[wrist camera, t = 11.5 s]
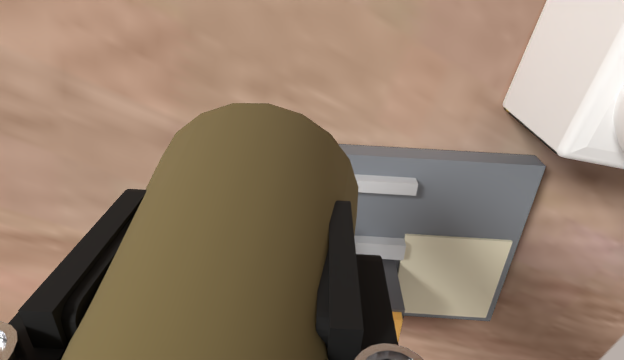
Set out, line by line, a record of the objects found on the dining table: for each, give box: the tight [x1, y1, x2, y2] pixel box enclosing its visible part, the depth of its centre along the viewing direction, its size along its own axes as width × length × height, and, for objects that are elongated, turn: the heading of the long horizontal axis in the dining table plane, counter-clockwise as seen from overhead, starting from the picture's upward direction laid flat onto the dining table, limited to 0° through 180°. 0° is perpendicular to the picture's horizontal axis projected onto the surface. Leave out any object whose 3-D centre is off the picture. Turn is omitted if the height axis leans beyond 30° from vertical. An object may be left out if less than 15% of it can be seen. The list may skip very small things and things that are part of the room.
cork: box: [61, 103, 359, 360], centre depth 7 cm, size 6×6×11 cm
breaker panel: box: [338, 144, 546, 321], centre depth 28 cm, size 13×20×2 cm, turn 87°
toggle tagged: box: [382, 259, 405, 341], centre depth 26 cm, size 3×4×5 cm
